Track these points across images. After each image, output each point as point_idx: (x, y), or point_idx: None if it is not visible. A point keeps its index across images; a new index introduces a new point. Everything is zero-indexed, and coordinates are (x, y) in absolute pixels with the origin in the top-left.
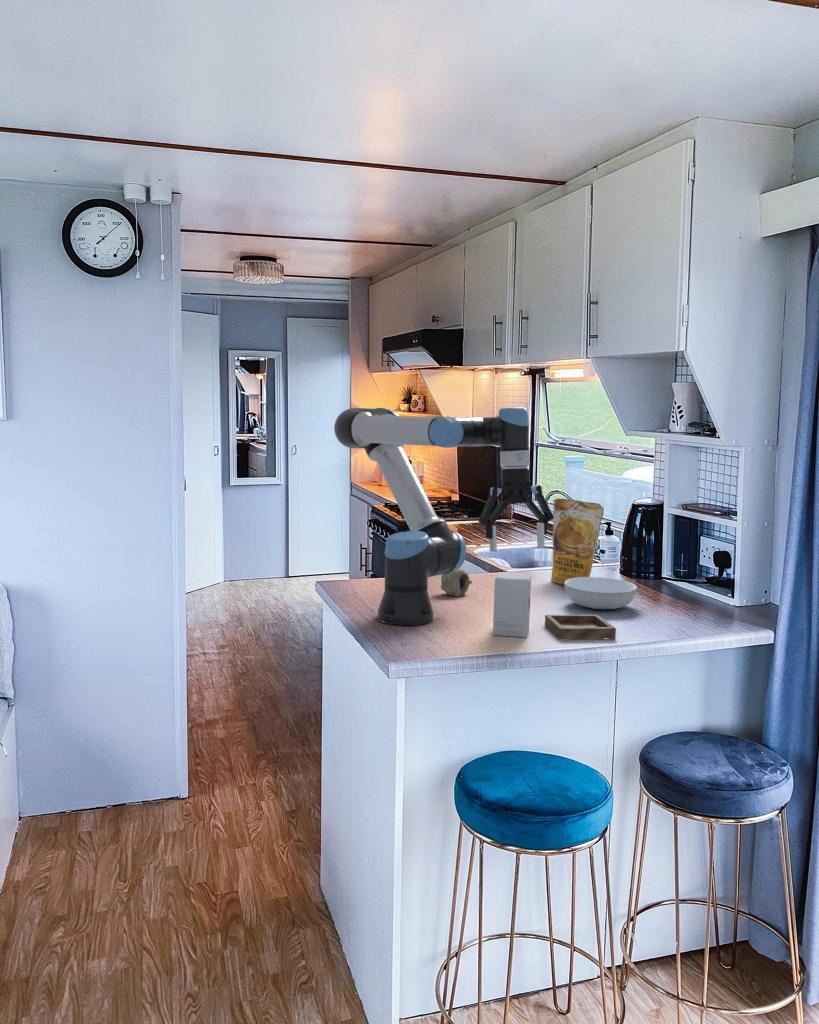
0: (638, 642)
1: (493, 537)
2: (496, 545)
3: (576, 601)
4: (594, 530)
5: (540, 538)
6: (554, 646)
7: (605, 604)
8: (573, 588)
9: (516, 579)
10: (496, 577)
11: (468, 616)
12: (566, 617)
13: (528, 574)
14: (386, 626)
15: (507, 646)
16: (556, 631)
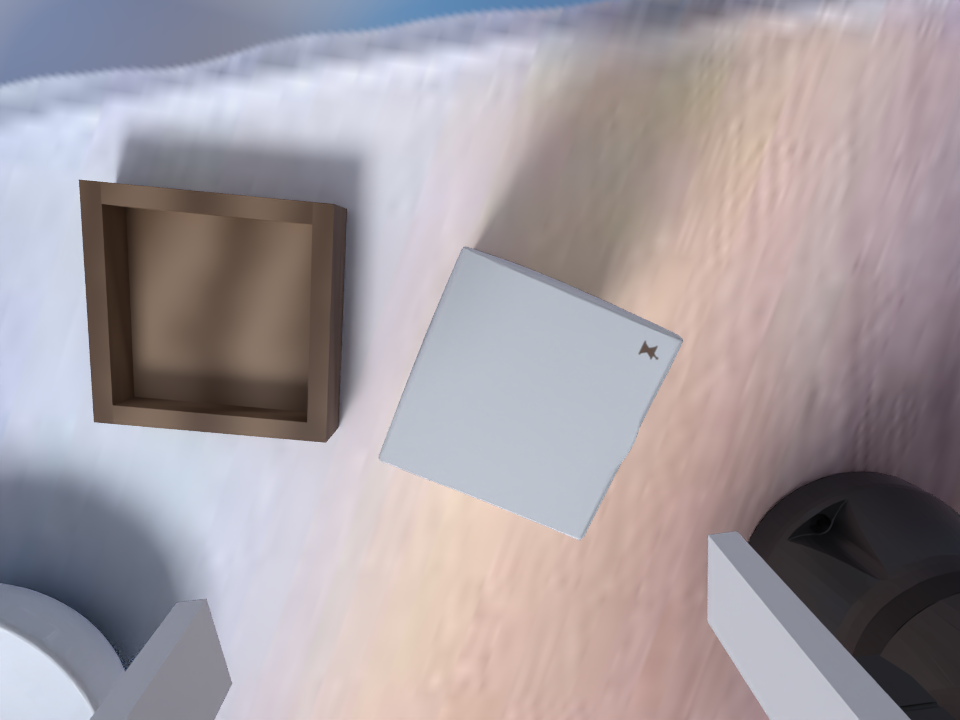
0: (31, 125)
1: (845, 651)
2: (744, 576)
3: (119, 659)
4: None
5: (158, 713)
6: (402, 110)
7: (9, 585)
8: (94, 702)
9: (546, 284)
10: (668, 356)
11: (593, 582)
12: (241, 413)
13: (402, 443)
14: (949, 479)
15: (592, 136)
16: (339, 263)
